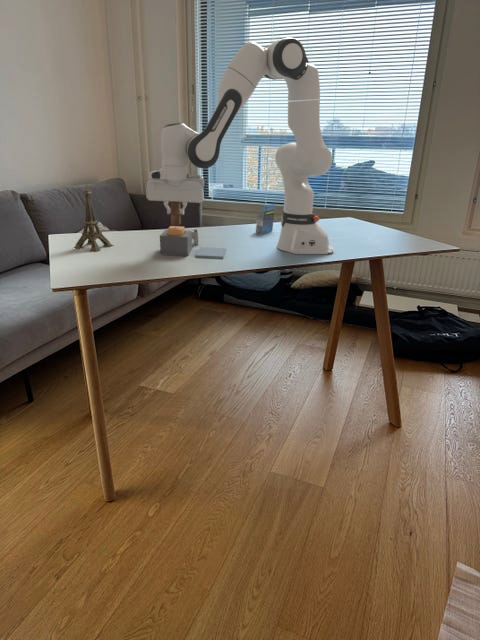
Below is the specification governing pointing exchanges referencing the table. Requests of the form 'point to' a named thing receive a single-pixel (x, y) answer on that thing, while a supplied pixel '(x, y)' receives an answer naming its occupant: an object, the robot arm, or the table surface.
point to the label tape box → (265, 220)
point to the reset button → (176, 230)
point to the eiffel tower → (91, 227)
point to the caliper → (195, 237)
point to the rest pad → (211, 252)
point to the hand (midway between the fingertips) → (175, 214)
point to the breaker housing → (176, 244)
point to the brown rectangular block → (175, 213)
